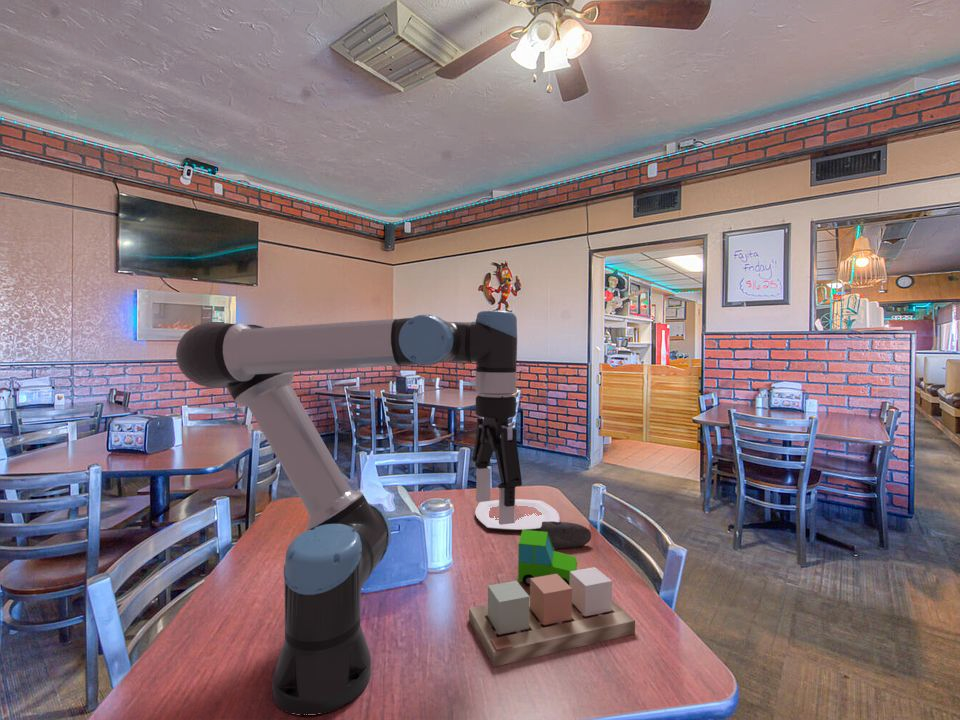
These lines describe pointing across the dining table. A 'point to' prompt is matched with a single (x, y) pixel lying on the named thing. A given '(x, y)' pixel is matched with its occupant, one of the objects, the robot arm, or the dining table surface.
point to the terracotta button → (550, 599)
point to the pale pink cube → (591, 591)
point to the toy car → (542, 558)
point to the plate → (521, 524)
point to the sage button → (508, 607)
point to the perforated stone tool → (566, 534)
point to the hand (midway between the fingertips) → (494, 511)
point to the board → (548, 634)
